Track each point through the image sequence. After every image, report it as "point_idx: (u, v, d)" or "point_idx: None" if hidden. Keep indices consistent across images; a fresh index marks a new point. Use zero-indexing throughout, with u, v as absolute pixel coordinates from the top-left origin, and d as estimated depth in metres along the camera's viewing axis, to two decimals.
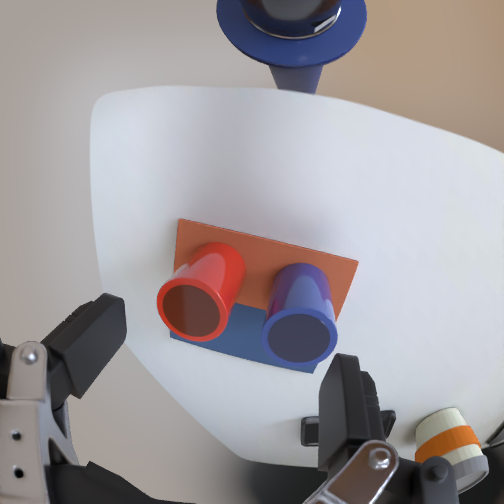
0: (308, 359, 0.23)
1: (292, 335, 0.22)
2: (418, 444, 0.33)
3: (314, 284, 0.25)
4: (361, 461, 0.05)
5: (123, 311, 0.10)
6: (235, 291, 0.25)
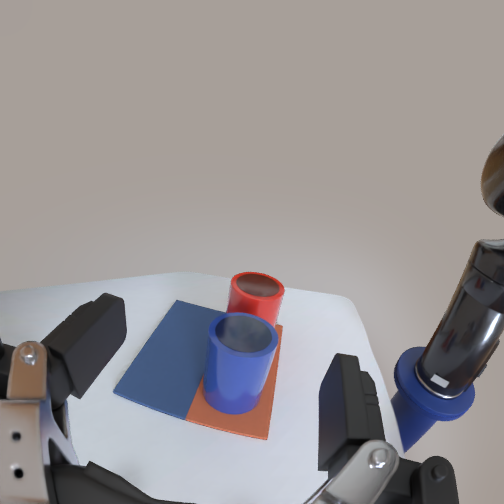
0: (219, 337, 0.23)
1: (248, 329, 0.25)
2: None
3: (267, 375, 0.25)
4: (361, 461, 0.05)
5: (123, 311, 0.10)
6: None
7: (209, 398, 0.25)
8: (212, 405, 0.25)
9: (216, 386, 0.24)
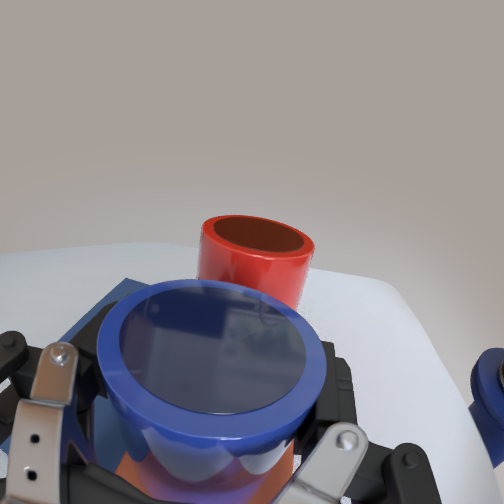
0: (127, 347, 0.06)
1: (229, 327, 0.08)
2: None
3: None
4: (329, 445, 0.05)
5: None
6: None
7: (141, 482, 0.08)
8: (152, 496, 0.08)
9: (144, 474, 0.07)
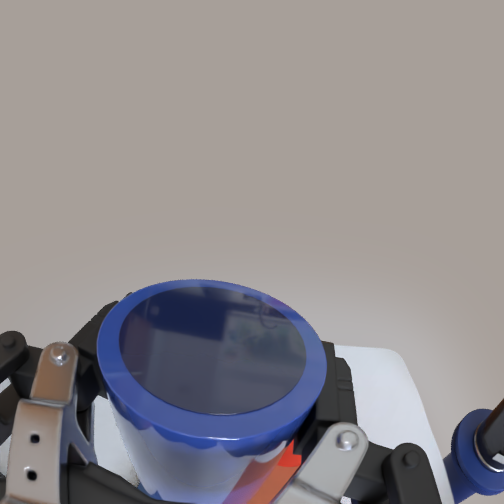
0: (127, 347, 0.06)
1: (229, 327, 0.08)
2: None
3: None
4: (329, 445, 0.05)
5: None
6: None
7: (141, 482, 0.08)
8: (152, 496, 0.08)
9: (144, 474, 0.07)
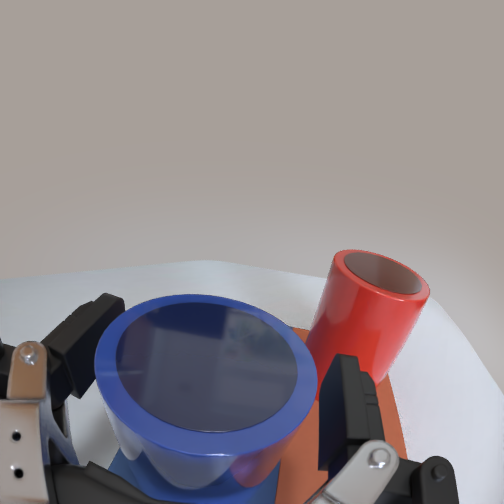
0: (124, 366, 0.06)
1: (222, 344, 0.08)
2: None
3: None
4: (361, 461, 0.05)
5: (123, 311, 0.10)
6: (389, 351, 0.14)
7: (140, 488, 0.08)
8: None
9: (143, 482, 0.07)
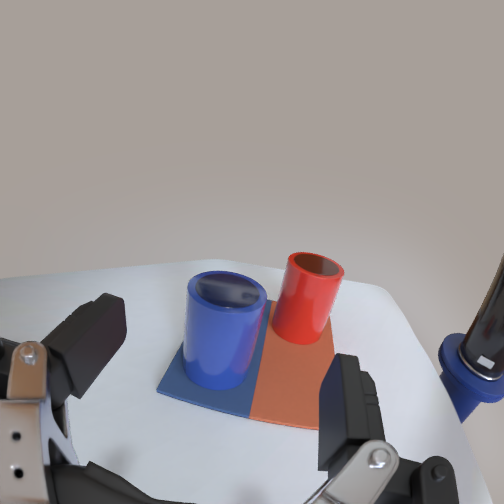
0: (199, 292, 0.21)
1: (232, 287, 0.23)
2: None
3: (255, 343, 0.23)
4: (361, 461, 0.05)
5: (123, 311, 0.10)
6: (318, 306, 0.28)
7: (188, 370, 0.23)
8: (193, 379, 0.23)
9: (196, 353, 0.21)
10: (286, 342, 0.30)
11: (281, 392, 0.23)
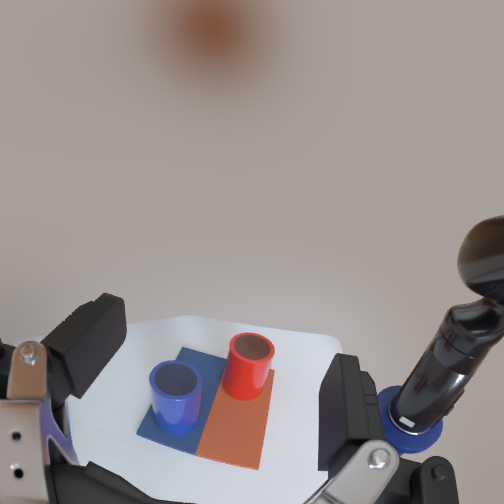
0: (156, 381, 0.29)
1: (180, 376, 0.30)
2: None
3: (198, 409, 0.31)
4: (361, 461, 0.05)
5: (123, 311, 0.10)
6: (252, 379, 0.36)
7: (156, 421, 0.30)
8: (160, 427, 0.30)
9: (158, 414, 0.29)
10: (231, 398, 0.38)
11: (219, 438, 0.31)
